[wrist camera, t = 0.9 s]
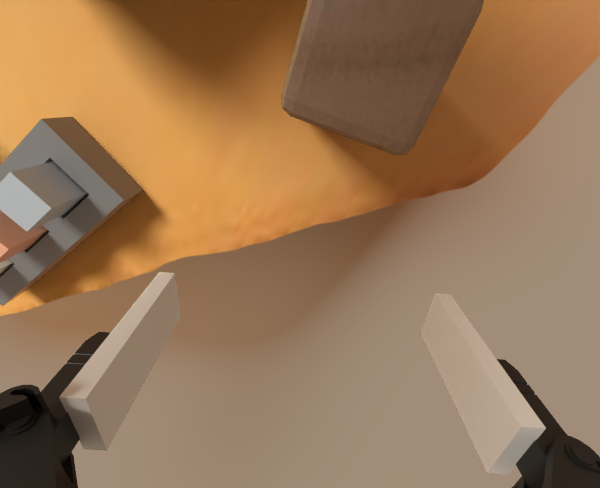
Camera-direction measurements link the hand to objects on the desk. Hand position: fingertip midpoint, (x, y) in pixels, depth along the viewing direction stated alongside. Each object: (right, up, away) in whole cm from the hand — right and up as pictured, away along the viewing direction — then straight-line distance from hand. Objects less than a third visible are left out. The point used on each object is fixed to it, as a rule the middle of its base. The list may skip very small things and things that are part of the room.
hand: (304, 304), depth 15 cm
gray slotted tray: (-39, +8, +29) cm, 49 cm away
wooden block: (+5, +24, +21) cm, 32 cm away
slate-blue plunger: (-32, +11, +24) cm, 41 cm away
